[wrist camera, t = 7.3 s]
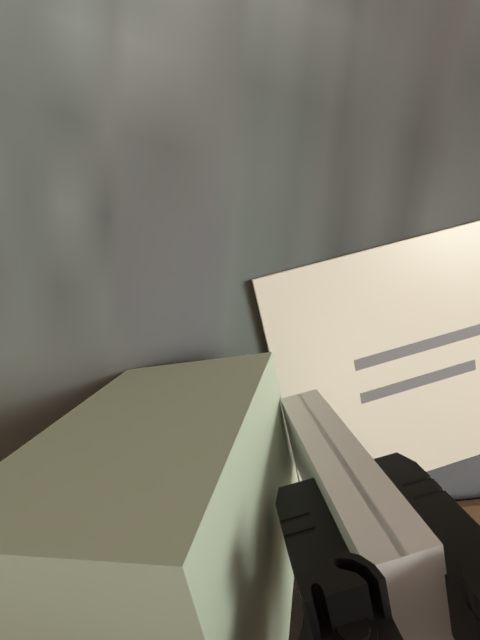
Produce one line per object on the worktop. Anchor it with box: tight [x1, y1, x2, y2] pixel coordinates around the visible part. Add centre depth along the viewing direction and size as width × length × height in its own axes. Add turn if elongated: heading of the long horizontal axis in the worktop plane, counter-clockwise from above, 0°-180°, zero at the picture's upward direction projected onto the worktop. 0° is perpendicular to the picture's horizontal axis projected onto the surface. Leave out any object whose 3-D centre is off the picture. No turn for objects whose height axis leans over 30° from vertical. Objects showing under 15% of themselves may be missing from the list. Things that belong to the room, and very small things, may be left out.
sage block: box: [0, 352, 299, 640], centre depth 10 cm, size 6×6×8 cm
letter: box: [251, 220, 480, 482], centre depth 15 cm, size 16×11×1 cm
